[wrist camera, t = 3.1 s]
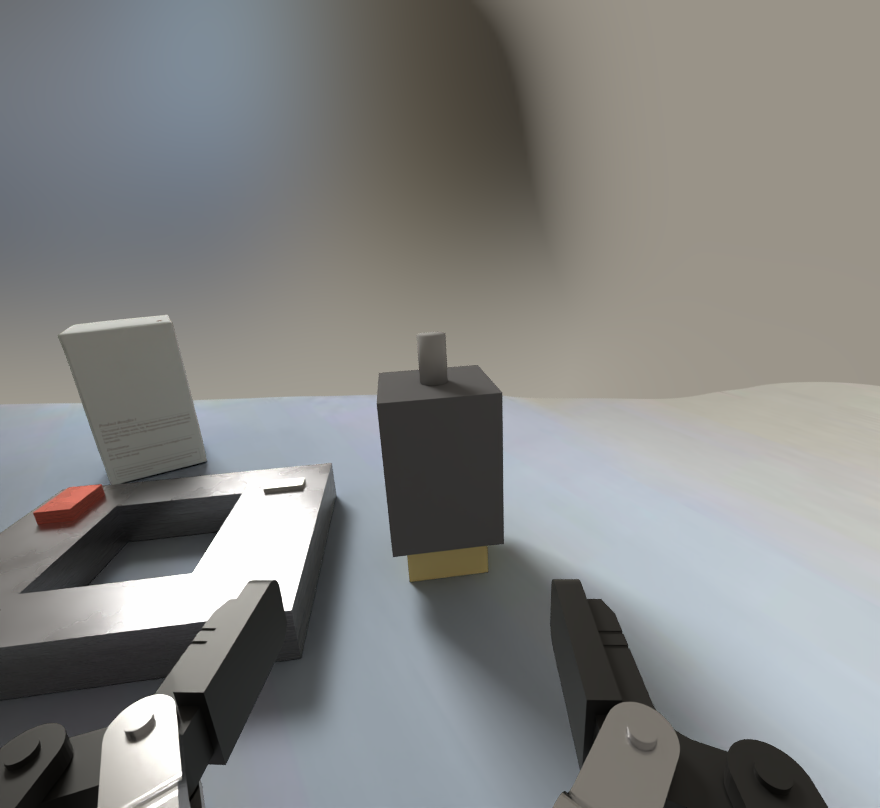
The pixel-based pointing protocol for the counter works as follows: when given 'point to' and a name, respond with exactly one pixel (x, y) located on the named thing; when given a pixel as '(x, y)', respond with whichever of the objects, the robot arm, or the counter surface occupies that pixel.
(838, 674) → the counter surface
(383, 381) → the plug
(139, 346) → the supplement box
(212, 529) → the socket
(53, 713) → the counter surface
